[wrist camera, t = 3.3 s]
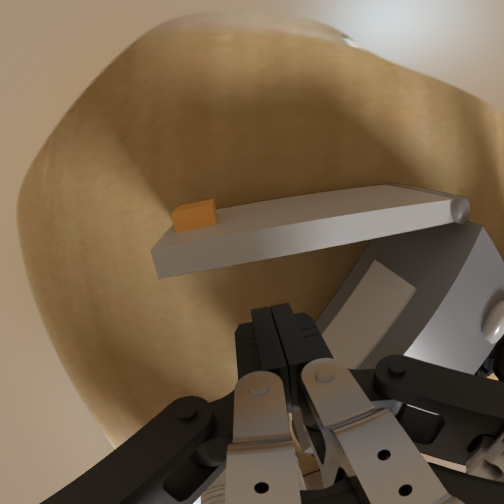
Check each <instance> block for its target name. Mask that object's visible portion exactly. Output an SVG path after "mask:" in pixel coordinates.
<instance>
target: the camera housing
mask: <svg viewBox="0 0 504 504" xmlns="http://www.w3.org/2000/svg"><path fill="white" fill-rule="evenodd" d="M315 324H316V326H317V328H318V329H319V331H320V334H321V335H322V337H323V339H324V341H325V342H326V344H327V346H328V348H329V350H330V352H331V354H332V356H333V357H334V359H336V360H339V361H341V362H342V363H343V364H344V365H345V366H346V367H347V368H349V369H355V370H363V369H375V367H376V365H377V363H378V362H379V361H380V360H381V359H382V358H384V357H386V356H389V355H395V354H398V355H404V356H408V357H411V358H415V359H418V360H421V361H425V362H428V363H432V364H435V365H439V366H442V367H446V368H450V369H453V370H457V371H461V372H465V373H469V374H472V375H474V374H475V373H476V371H477V370H478V369H479V367H480V366H481V365H482V363H483V362H484V361H485V359H486V358H487V356H488V355H489V354H490V352H491V351H492V349H493V348H494V346H495V345H496V343H497V342H498V340H499V339H500V338H501V337H502V336H503V334H504V261H503V259H502V258H501V256H500V254H499V252H498V250H497V249H496V247H495V245H494V243H493V242H492V240H491V238H490V237H489V235H488V233H487V232H486V230H485V229H484V227H483V226H481V225H478V224H475V223H472V222H470V221H466V222H465V223H464V224H458V223H455V222H452V223H448V224H443V225H438V226H433V227H428V228H424V229H419V230H414V231H409V232H404V233H399V234H394V235H389V236H384V237H379V238H374V239H371V241H370V243H369V244H368V246H367V247H366V249H365V251H364V252H363V254H362V255H361V257H360V258H359V260H358V261H357V263H356V265H355V266H354V268H353V269H352V271H351V272H350V274H349V275H348V277H347V278H346V280H345V281H344V283H343V284H342V285H341V287H340V288H339V290H338V291H337V293H336V294H335V296H334V297H333V298H332V300H331V301H330V303H329V304H328V305H327V307H326V308H325V310H324V311H323V312H322V314H321V315H320V316H319V318H318V319H317V320H316V322H315ZM290 405H291V403H290ZM407 405H408V404H407ZM408 406H411V405H408ZM411 407H414V406H411ZM414 408H417V407H414ZM417 409H420V408H417ZM420 410H423V409H420ZM423 411H426V410H423ZM426 412H429V411H426ZM291 413H292V417H293V418H292V428H293V431H294V434H295V436H296V438H297V440H298V442H299V443H300V445H301V449H302V452H303V453H310V454H311V455H312V456H314V453H313V451H312V448H311V446H310V444H309V441H308V439H307V436H306V434H305V431H304V429H303V418H302V414H301V411H300V410H299V411H294V412H293V410H292V406H291ZM429 413H432V412H429ZM432 414H435V413H432ZM436 415H439V414H436ZM314 457H315V456H314Z"/></svg>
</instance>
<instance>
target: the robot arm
mask: <svg viewBox="0 0 504 504" xmlns="http://www.w3.org/2000/svg"><path fill="white" fill-rule="evenodd" d="M251 314H252V320H253V322H250V323H244V324H239V326H238V328H237V330H236V331H235V342H236V356H237V368H238V382H237V383H236V386H235V389H234V390H233V391H232V392H231V393H230V394H229V395H227V396H225V397H223V398H221V399H219V400H216V401H213V402H210V403H208V402H207V401H206V400H204V399H203V398H200V397H196V396H187V397H182V398H179V399H177V400H175V401H173V402H172V403H171V404H169V405H168V406H167V407H166V408H165V409H164V410H163V411H161V412H160V413H159V414H158V415H157V416H156V417H154V418H153V419H152V420H151V421H150V422H149V423H147V424H146V425H145V426H144V427H143V428H141V429H140V430H139V431H138V432H137V433H135V434H134V435H133V436H132V437H130V438H129V439H128V440H127V441H125V442H124V443H123V444H122V445H120V446H119V447H118V448H117V449H115V450H114V451H113V452H112V453H110V454H109V455H108V456H106V457H105V458H104V459H103V460H101V461H100V462H99V463H97V464H96V465H95V466H93V467H92V468H91V469H89V470H88V471H86V472H85V473H84V474H82V475H81V476H80V477H78V478H77V479H75V480H74V481H73V482H71V483H70V484H68V485H67V486H65V487H64V488H63V489H61V490H60V491H58V492H57V493H55V494H54V495H52V496H51V497H49V498H48V499H46V500H45V501H43V502H42V503H40V504H193V503H194V502H195V501H196V500H197V499H198V498H199V497H200V496H201V495H202V494H203V493H204V492H205V491H206V489H207V488H208V487H209V486H210V485H211V484H212V483H213V482H214V481H215V480H216V479H217V478H218V477H219V476H220V474H221V473H222V472H223V471H224V470H225V469H226V485H225V504H504V382H502V381H497V380H493V379H489V378H485V377H481V376H476V375H472V374H469V373H465V372H461V371H457V370H453V369H450V368H446V367H442V366H439V365H435V364H432V363H428V362H425V361H421V360H418V359H415V358H411V357H408V356H404V355H398V354H395V355H389V356H386V357H384V358H382V359H381V360H380V361H379V362H378V363H377V365H376V367H375V369H363V370H355V369H349V368H347V367H346V366H345V365H344V364H343V363H342V362H341V361H339V360H336V359H334V357H333V356H332V354H331V352H330V350H329V348H328V346H327V344H326V342H325V341H324V339H323V337H322V335H321V334H320V331H319V329H318V328H317V326H316V324H315V322H314V320H313V318H311V317H310V316H308V315H307V314H305V313H304V312H303V313H298V314H293V312H292V309H291V307H290V305H289V303H285V304H280V305H274V306H270V308H269V307H263V308H258V309H252V310H251ZM290 403H291V405H290ZM407 404H408V405H411V406H414V407H417V408H420V409H423V410H426V411H429V412H432V413H435V414H432V413H429V412H426V411H423V410H420V409H417V408H414V407H411V406H408V405H407ZM291 406H292V410H293V412H294V411H299V410H300V411H301V414H302V418H303V429H304V431H305V434H306V436H307V439H308V441H309V444H310V446H311V448H312V451H313V453H314V456H315V458H316V461H317V463H318V465H319V468H320V471H318V472H315V473H312V474H310V475H307V476H305V477H303V479H304V483H305V486H306V490H299V483H298V476H297V469H296V463H295V456H294V449H293V442H292V438H291V434H290V427H289V415H288V413H290V412H291ZM436 414H439V415H436ZM421 453H423V454H426V455H429V456H432V457H435V458H439V459H442V460H446V461H450V462H453V463H457V464H461V465H465V466H466V469H467V470H466V473H463V472H459V471H456V470H453V469H450V468H446V467H443V466H440V465H437V464H434V463H430V462H426V460H425V459H424V457H423V456H422V455H421Z"/></svg>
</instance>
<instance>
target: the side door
mask: <svg viewBox="0 0 504 504" xmlns="http://www.w3.org/2000/svg"><path fill="white" fill-rule="evenodd" d="M171 214H172V218H173V223H174V224H173V225H172V226H171V227H170V228H169V230H168V231H167V232H166V233H165V234H164V235H163V237H162V238H161V239H160V240H159V241H158V242H157V244H156V245H155V246H154V247H153V248H152V250H151V253H152V256H153V260H154V264H155V267H156V271H157V274H158V277H159V279H161V278H166V277H172V276H178V275H183V274H189V273H194V272H200V271H206V270H211V269H217V268H222V267H227V266H233V265H238V264H244V263H249V262H255V261H260V260H265V259H271V258H276V257H281V256H286V255H292V254H297V253H302V252H307V251H313V250H318V249H323V248H328V247H333V246H339V245H344V244H349V243H354V242H359V241H364V240H369V239H374V238H379V237H384V236H389V235H394V234H399V233H404V232H409V231H414V230H419V229H424V228H428V227H433V226H438V225H443V224H448V223H452V222H455V223H458V224H464V223H465V222H466V221H467V220H468V218H469V214H470V204H469V201H468V199H467V198H465V197H462V196H458V195H453V194H449V193H444V192H439V191H434V190H429V189H424V188H419V187H413V186H408V185H402V184H396V183H389V182H387V183H385V184H383V185H378V186H369V187H360V188H352V189H344V190H336V191H328V192H321V193H314V194H307V195H300V196H293V197H287V198H280V199H274V200H268V201H262V202H256V203H250V204H244V205H239V206H233V207H228V208H222V209H217V210H216V206H215V200H214V199H209V200H204V201H199V202H194V203H189V204H184V205H180V206H178V207H177V208H176V209H175V210H174V211H173V212H171Z"/></svg>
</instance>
